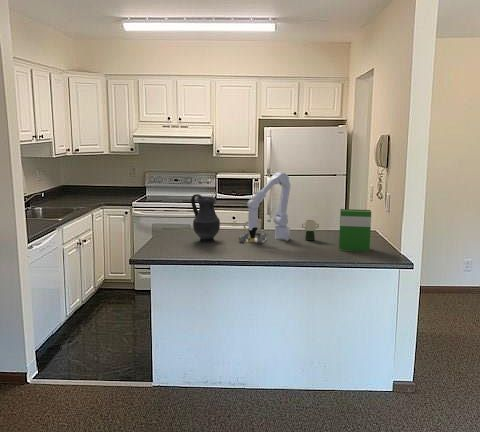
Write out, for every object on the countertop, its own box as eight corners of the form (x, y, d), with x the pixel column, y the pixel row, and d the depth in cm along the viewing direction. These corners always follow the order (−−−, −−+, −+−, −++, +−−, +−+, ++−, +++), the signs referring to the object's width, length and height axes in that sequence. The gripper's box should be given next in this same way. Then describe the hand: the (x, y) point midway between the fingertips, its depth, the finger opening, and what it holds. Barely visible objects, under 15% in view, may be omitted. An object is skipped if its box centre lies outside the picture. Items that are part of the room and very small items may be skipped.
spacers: (266, 239, 326) (266, 233, 325) (261, 244, 312) (261, 238, 312) (244, 237, 330) (244, 232, 329) (238, 242, 316) (238, 237, 315)
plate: (266, 239, 327) (266, 238, 327) (261, 245, 312) (261, 244, 312) (244, 238, 331) (244, 237, 331) (238, 243, 316) (238, 242, 316)
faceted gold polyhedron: (255, 241, 320) (255, 237, 320) (253, 242, 316) (253, 238, 315) (249, 240, 321) (249, 236, 321) (247, 242, 317) (247, 238, 317)
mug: (260, 235, 341) (260, 220, 339) (242, 234, 343) (242, 220, 341) (262, 232, 349) (262, 218, 347) (244, 232, 351) (244, 218, 349)
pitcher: (207, 245, 312) (207, 197, 306) (183, 240, 324) (182, 195, 319) (225, 240, 325) (225, 194, 320) (201, 236, 338) (200, 192, 332)
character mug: (318, 239, 330) (318, 219, 327) (318, 241, 323) (319, 221, 320) (301, 238, 331) (302, 219, 329) (301, 241, 324) (302, 221, 322)
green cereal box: (339, 250, 300) (340, 211, 296) (339, 247, 307) (340, 209, 303) (369, 251, 297) (371, 211, 293) (368, 248, 304) (370, 209, 300)
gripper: (249, 216, 327) (249, 236, 329) (244, 220, 313) (243, 241, 316) (260, 216, 325) (259, 236, 328) (254, 220, 311) (254, 241, 314)
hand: (252, 239), depth 322 cm, fingers closed
